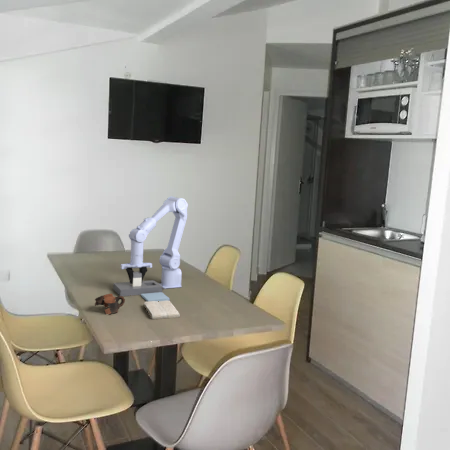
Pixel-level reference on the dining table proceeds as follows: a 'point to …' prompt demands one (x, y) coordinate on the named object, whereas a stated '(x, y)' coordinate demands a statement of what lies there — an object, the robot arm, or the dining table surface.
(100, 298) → the broken clay pot
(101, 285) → the dining table surface
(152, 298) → the pad
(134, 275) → the plug
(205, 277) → the dining table surface
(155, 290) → the gray socket board
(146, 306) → the washcloth
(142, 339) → the dining table surface
